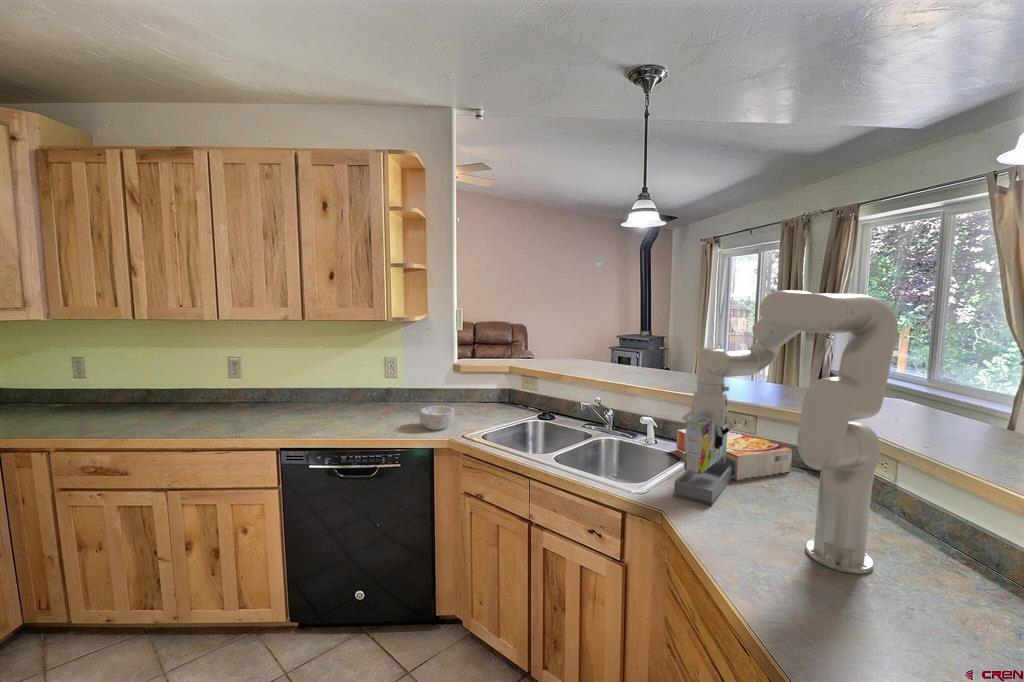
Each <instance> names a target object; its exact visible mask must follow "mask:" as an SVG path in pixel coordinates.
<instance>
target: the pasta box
mask: <svg viewBox="0 0 1024 682" xmlns="http://www.w3.org/2000/svg"><path fill="white" fill-rule="evenodd" d="M676 431H677V433H676V448H677V449H679V450H681V451H683V452H685V442H686V428H683V429H677V430H676ZM758 437H759V436H757V437H752V436H747V435H741V434H736V433H731V432H727V448H726V455H725V456H724V457H723V458H721V459H720V460H719V461H718V462H722V463H727V464H731V465H733V478H735V479H736V480H735V479H734V480H735V481H738V480H737V479H742V480H745V479H744V478H749V479H752V478H751V477H756V478H759V477H758V476H762V477H766V476H765V475H769V476H773V475H772V474H776V475H779V474H778V473H783V474H786V473H785V472H790V473H791V472H792V471H791V470H792V459H793V458H792V457H793V449H792V448H789V447H787V446H783V445H781V444H779V443H776V442H773V441H770V440H768V439H764V438H763V437H759V438H758ZM733 478H732V479H733Z"/></svg>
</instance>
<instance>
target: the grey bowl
mask: <svg viewBox="0 0 1024 682" xmlns="http://www.w3.org/2000/svg"><path fill="white" fill-rule="evenodd" d="M454 421H455V409H454V408H453V407H450V406H445V405H431V406H430V405H429V406H425V407H422V408H420V409H419V423H421V424H423V425H424V427H425V428H426V429H427V430H430V431H431V430H432V431H441V430H446V429H447V428H449V426H450V425H451V423H454Z"/></svg>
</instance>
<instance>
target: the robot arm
mask: <svg viewBox="0 0 1024 682" xmlns="http://www.w3.org/2000/svg"><path fill="white" fill-rule="evenodd" d="M759 316H760V319H759V320H757V321H756V322H755V323H754V324H753V326H752V329H751V330H752V335H753V337H754V339H755V340H756V342H755V343H754V344H753V345H751V346H750V347H748V348H747V349H732V350H724V349H723V348H720V347H702V348H701V349H699V351H698V360H697V361H698V364H697V365H698V366H697V377H696V378H697V379H696V380H697V381H696V389H695V390H694V393H693V396H692V401H691V406H690V410H689V411H688V412H687V413H686V414H684V415H683V416H682V417H681V419H682V421H684V422H685V423H686V422H687V421H689V420H691V419H693V418H695V417H697V416H702V417H708V418H713V419H714V422H715V427H716V430H717V433H718V435H717V436H716V449H719V448H720V446H722V444H723V435H725V434H726V433H727V432H729V431H730V430H732V429H733V428H735V429H736V427H737V426H736V424H735V423H734V421H733V420H732V419H731V418H730V417H729V410H728V409H729V406H728V405H729V404H728V397H727V393H725V392H729V390H730V387H729V386H727V385H726V383H725V378H732V377H745V376H753V375H755V374H758V373H760V372H761V371H763V370H764V369H765V368H767V367H768V366H770V365H771V364H772V363H773V362H774V361H776V359H777V357H778V355H779V353H780V351H781V347H783V345H784V344H787V343H788V342H789V341H790V340H791V339H793V338H794V337H796V336H797V335H798V334H799V333H801V332H802V331H803V332H807V333H808V332H809V333H816V334H818V333H819V334H842V333H844V334H845V333H848V334H850V335H851V337H850V340H849V341H848V342H847V344H846V345H845V347H844V349H843V351H842V353H841V356H840V357H841V358H840V363H839V368H838V371H837V374H836V376H828V377H824V378H820V379H818V380H816V381H815V382H813V383H812V384H811V385H810V386H809V387H808V389H807V391H806V393H805V394H804V398H803V402H802V407H801V413H800V419H799V425H798V430H797V436H796V437H797V438H796V447H797V451H798V455H799V457H800V458H801V460H802V462H804V463H805V465H806V466H808V467H810V468H812V469H814V470H818V471H820V475H819V476H820V477H819V484H818V491H817V492H818V493H817V502H816V503H817V504H816V514H815V515H816V517H815V528H814V538H813V539H810V540H808V541H807V542H806V544H805V551H806V554H808V556H810V557H811V558H812V559H813V560H814V561H816V562H818V563H819V564H821V565H823V566H825V567H828V568H830V569H834V570H835V571H839V572H843V573H849V574H854V575H855V574H856V575H857V574H866V573H870V572H871V571H872V570H874V560H873V559H872V558H871V556H869V555H868V554H867V553H866V550H867V538H868V529H869V518H870V509H871V499H872V492H873V491H872V490H873V483H874V482H873V481H874V476H875V473H876V469H877V466H878V464H879V460H880V457H881V456H880V455H881V448H882V447H881V441H880V439H879V437H878V435H877V433H876V432H875V431H874V430H873V429H872V428H871V427H870V426H867V424H866V425H865V424H864V423H861V422H856V421H857V420H858V421H859V420H865V419H869V418H872V417H875V416H876V415H878V413H879V412H880V411H881V408H882V406H883V403H884V398H885V393H886V390H887V389H886V387H887V384H888V378H889V374H890V369H891V363H892V357H893V355H894V350H895V347H896V344H897V341H898V340H897V339H898V336H899V335H898V334H899V324H898V322H899V321H898V319H897V316H896V314H895V312H894V310H893V309H892V308H891V307H890V306H889V305H888V304H887V303H885V302H884V301H882V300H881V299H879V298H876V297H874V296H871V295H867V294H859V293H812V292H809V291H805V290H776V291H773V292H770V293H768V294H767V295H766V296H765V297H764V298H763V299H762V301H761V302H760V305H759ZM724 424H728V425H727V426H728V427H727V428H725V429H723V426H724Z"/></svg>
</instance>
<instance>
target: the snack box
mask: <svg viewBox="0 0 1024 682" xmlns="http://www.w3.org/2000/svg"><path fill="white" fill-rule="evenodd" d="M727 426H729V425H728V424H724V426H723V429H725V428H727ZM685 429H686V442H685V454H684V467H683V469H684V470H685V471H686V470H687V471H691V472H695V473H698V474H702V473H703V472H704V471H705V470H707V469H708V468H709V467H711V466H712V465H713V464H715V463H716V462H717V461H719V460H720V459H721V458H723V457H724V456H725V455H726V448H727V433H726V434H725V435H723V444H722V446H720V448H719V449H716V436H717V435H718V433H717V430H716V427H715V422H714V419H713V418H708V417H702V416H697V417H695V418H693V419H691V420H689V421H687V422H685Z"/></svg>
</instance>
